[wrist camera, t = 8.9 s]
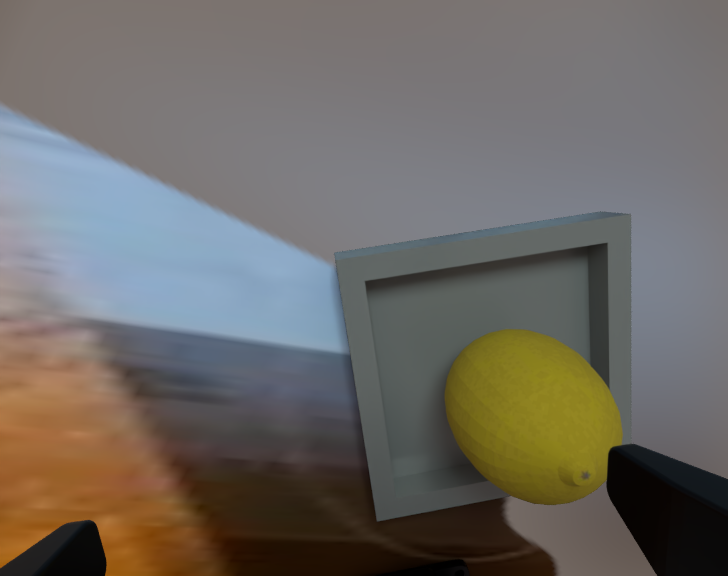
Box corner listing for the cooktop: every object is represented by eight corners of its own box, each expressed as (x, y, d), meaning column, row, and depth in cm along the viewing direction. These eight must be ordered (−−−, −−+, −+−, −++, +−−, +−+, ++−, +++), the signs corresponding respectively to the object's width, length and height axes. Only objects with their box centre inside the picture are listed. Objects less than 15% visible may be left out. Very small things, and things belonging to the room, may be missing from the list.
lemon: (567, 357, 20) (716, 463, 13) (483, 441, 21) (576, 590, 13) (486, 281, 19) (595, 345, 11) (400, 371, 20) (448, 491, 12)
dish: (604, 448, 22) (631, 472, 20) (372, 491, 22) (377, 521, 20) (600, 211, 20) (631, 214, 18) (334, 252, 19) (335, 260, 17)
